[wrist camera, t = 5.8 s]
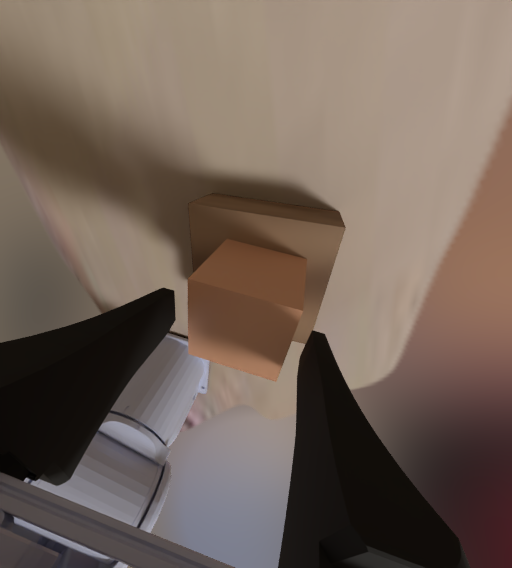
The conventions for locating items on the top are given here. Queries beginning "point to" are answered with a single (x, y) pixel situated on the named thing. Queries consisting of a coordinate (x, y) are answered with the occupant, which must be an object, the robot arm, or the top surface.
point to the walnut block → (271, 239)
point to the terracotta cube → (246, 307)
